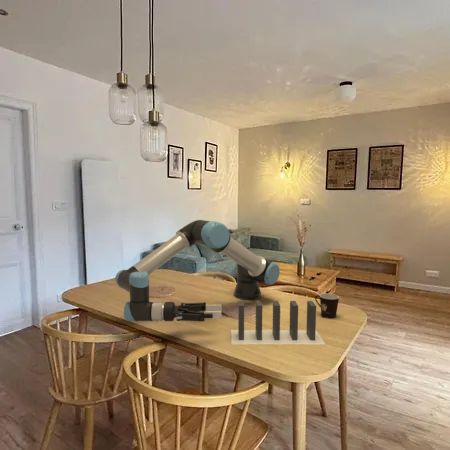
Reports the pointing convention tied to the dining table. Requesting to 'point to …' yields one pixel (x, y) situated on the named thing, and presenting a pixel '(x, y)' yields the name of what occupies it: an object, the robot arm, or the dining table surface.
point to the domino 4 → (293, 320)
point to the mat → (269, 339)
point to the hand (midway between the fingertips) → (221, 311)
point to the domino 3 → (276, 320)
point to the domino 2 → (258, 320)
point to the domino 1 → (241, 320)
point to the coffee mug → (328, 305)
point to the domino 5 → (311, 320)
